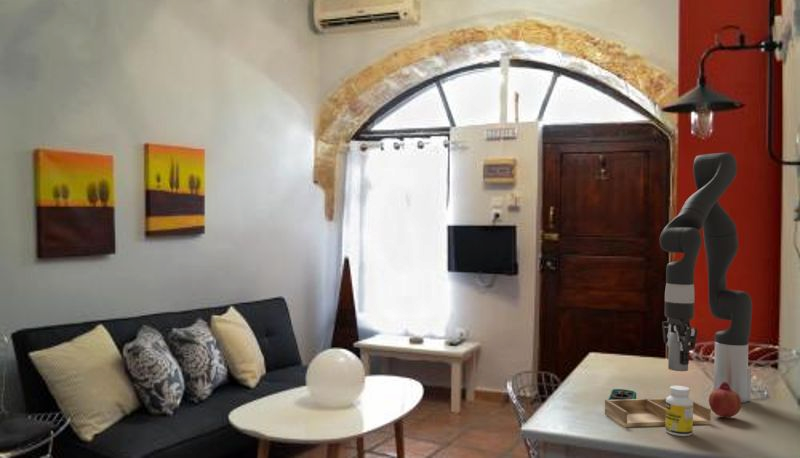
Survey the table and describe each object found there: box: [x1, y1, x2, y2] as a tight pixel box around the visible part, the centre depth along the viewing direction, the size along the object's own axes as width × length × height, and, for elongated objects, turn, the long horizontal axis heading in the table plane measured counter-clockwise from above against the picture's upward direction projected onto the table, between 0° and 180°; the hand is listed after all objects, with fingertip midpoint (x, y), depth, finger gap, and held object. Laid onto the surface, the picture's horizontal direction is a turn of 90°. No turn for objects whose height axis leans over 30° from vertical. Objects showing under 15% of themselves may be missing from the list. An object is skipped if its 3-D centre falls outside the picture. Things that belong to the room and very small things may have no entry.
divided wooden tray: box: [604, 397, 712, 428], centre depth 185 cm, size 24×12×4 cm, turn 98°
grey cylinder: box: [667, 332, 689, 372], centre depth 185 cm, size 5×5×10 cm
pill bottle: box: [665, 385, 694, 437], centre depth 173 cm, size 6×6×12 cm
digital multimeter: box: [607, 388, 637, 400], centre depth 201 cm, size 7×15×3 cm, turn 157°
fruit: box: [708, 382, 742, 419], centre depth 187 cm, size 8×8×10 cm
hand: (678, 362), depth 185 cm, fingers closed on grey cylinder, 5 cm apart
